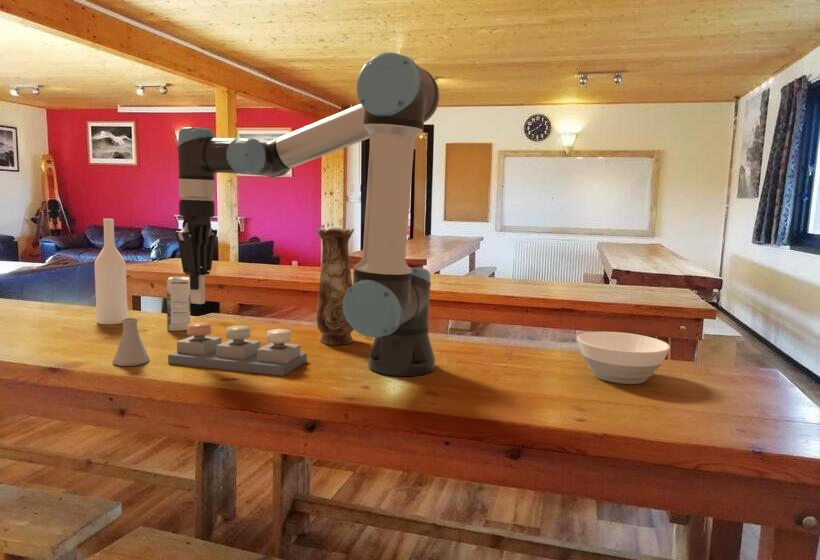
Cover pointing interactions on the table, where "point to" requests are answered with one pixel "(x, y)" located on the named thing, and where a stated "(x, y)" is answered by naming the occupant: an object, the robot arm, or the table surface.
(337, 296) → the vase
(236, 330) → the button sage
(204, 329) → the button terracotta
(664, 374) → the table surface
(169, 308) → the syrup box
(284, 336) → the button cream
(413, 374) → the robot arm
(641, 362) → the bowl
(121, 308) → the bottle
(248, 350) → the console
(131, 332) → the flask
